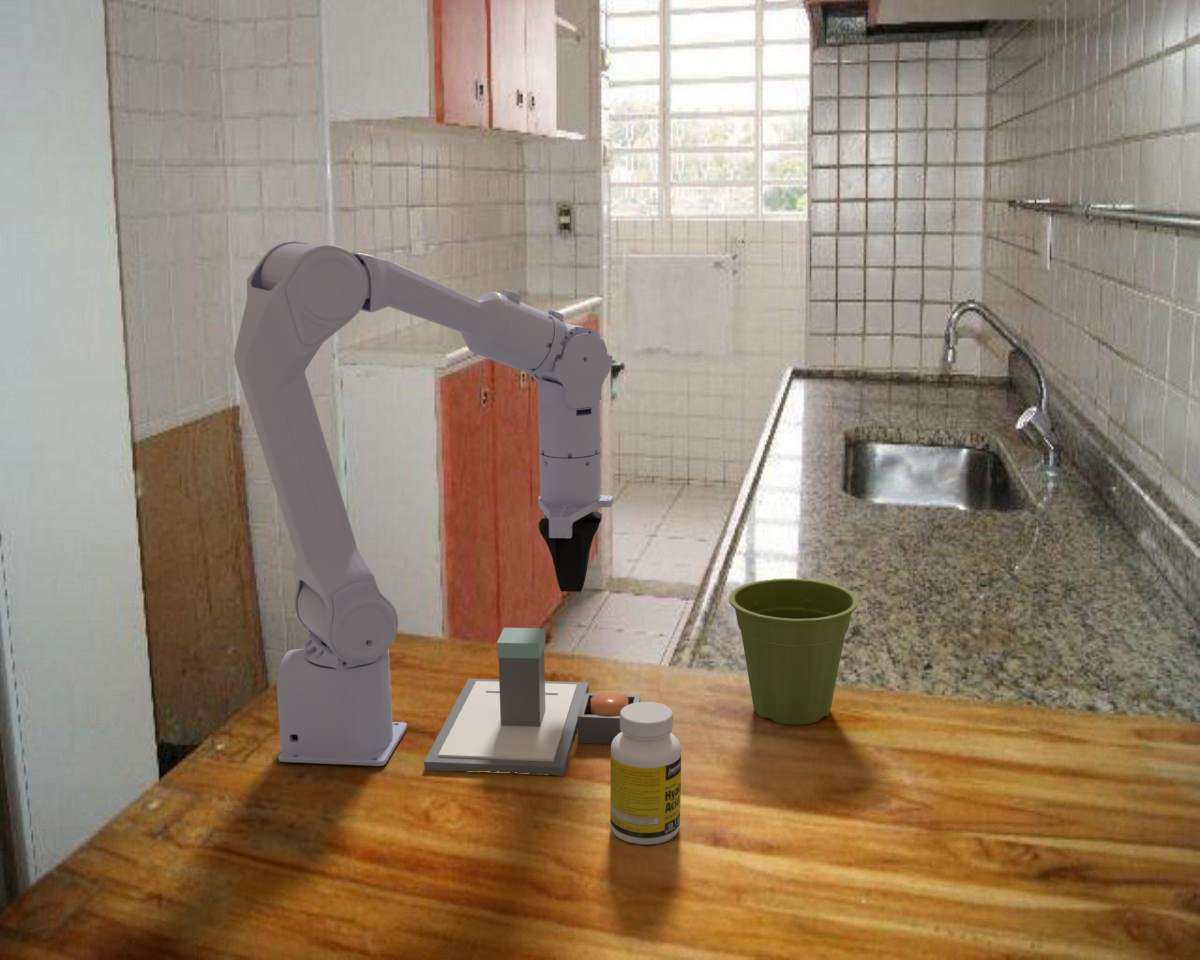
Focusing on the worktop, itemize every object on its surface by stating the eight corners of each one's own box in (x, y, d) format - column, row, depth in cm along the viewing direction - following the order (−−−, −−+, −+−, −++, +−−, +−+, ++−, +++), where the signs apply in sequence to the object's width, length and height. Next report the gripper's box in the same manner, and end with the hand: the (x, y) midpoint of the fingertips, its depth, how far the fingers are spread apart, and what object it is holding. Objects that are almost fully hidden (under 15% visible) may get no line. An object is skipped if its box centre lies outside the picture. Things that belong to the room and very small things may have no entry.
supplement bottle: (675, 850, 92) (676, 730, 90) (604, 843, 93) (603, 724, 91) (685, 815, 97) (686, 699, 95) (617, 808, 98) (616, 694, 96)
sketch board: (424, 770, 105) (423, 759, 105) (468, 686, 122) (468, 676, 122) (563, 776, 104) (563, 764, 103) (588, 690, 121) (588, 680, 121)
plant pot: (805, 677, 124) (809, 570, 121) (880, 722, 113) (885, 606, 111) (703, 698, 119) (705, 588, 116) (771, 748, 108) (775, 627, 106)
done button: (588, 727, 110) (588, 706, 110) (593, 711, 114) (592, 691, 113) (626, 728, 110) (626, 708, 109) (629, 712, 113) (629, 692, 113)
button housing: (577, 742, 110) (577, 716, 109) (584, 717, 115) (584, 693, 114) (635, 744, 109) (635, 718, 109) (640, 719, 114) (640, 694, 114)
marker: (499, 726, 111) (496, 642, 109) (506, 708, 115) (503, 627, 113) (541, 727, 111) (539, 643, 109) (546, 709, 114) (545, 628, 112)
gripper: (603, 470, 108) (605, 616, 111) (619, 436, 122) (619, 567, 125) (524, 469, 109) (528, 614, 112) (548, 435, 123) (551, 565, 126)
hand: (571, 589), depth 119 cm, fingers closed
